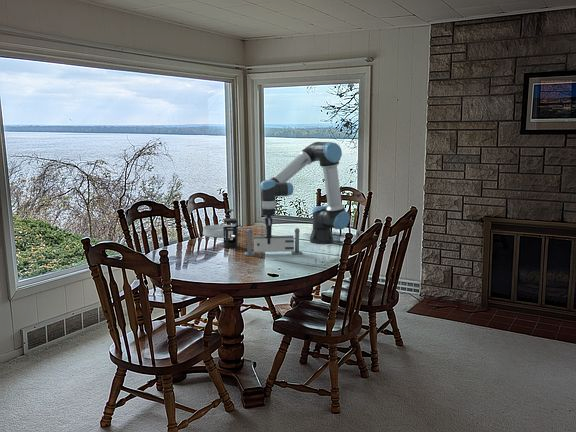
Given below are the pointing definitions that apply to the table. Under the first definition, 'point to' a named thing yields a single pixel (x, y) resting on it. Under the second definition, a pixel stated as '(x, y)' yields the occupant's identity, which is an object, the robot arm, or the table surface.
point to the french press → (227, 242)
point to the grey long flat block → (274, 244)
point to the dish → (215, 230)
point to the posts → (250, 253)
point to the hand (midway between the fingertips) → (268, 249)
